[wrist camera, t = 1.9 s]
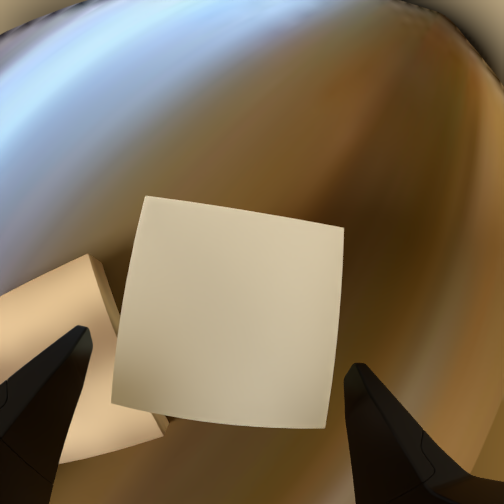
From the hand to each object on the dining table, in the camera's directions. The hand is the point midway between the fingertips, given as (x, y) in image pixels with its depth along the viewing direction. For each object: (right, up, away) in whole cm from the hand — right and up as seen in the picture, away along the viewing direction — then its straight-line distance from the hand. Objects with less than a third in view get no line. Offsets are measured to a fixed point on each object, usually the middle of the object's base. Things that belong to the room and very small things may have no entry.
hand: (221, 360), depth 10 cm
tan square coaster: (-11, -4, +7) cm, 14 cm away
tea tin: (-1, -1, +9) cm, 9 cm away
